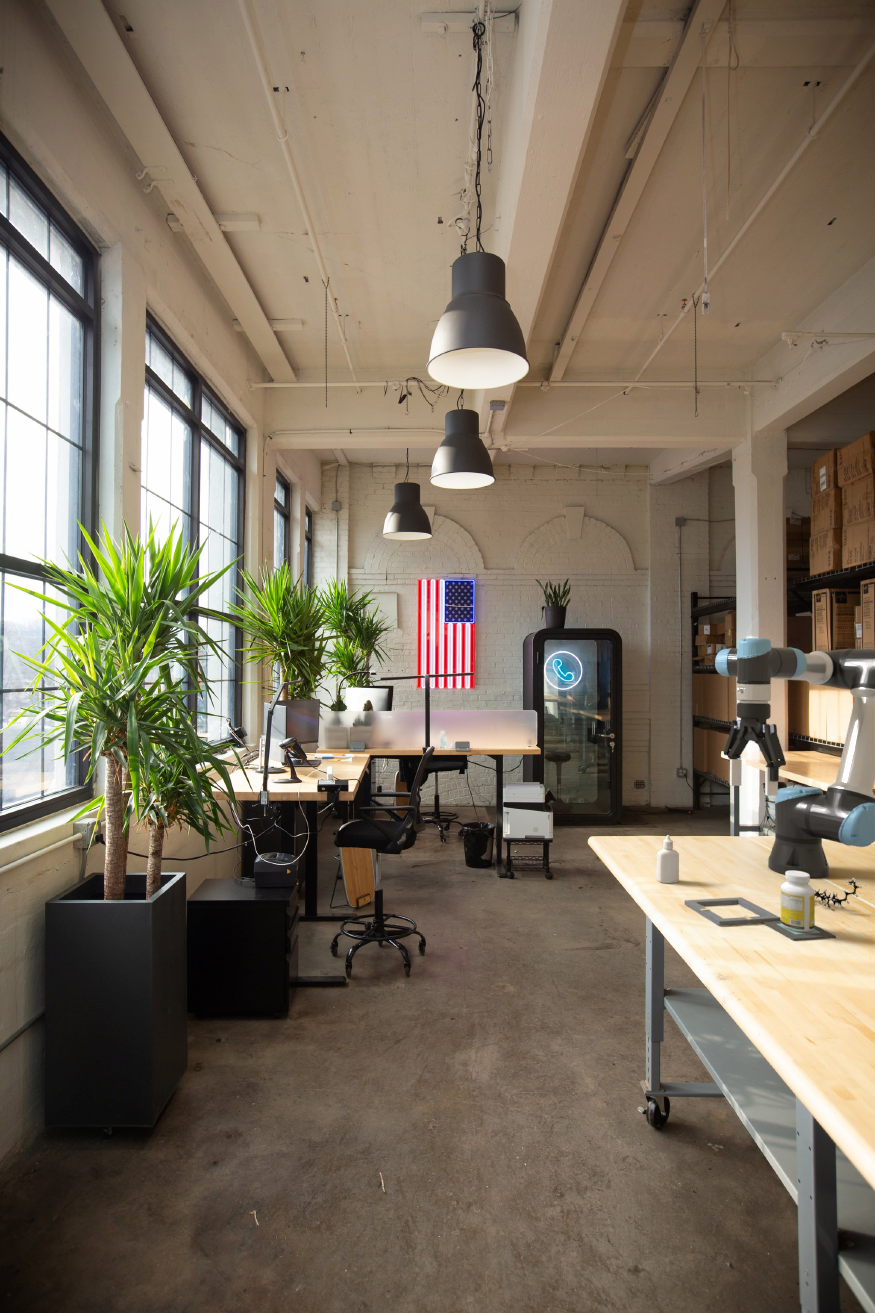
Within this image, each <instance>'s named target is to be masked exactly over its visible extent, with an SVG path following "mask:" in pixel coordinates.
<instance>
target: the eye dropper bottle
mask: <svg viewBox="0 0 875 1313" xmlns="http://www.w3.org/2000/svg"><path fill="white" fill-rule="evenodd" d="M662 845H663V846H662V847H663V848H662V849H660V850H658V851H657V853H656V881H657V882H658V883H659V882H660V883H661V884H674V883H675V884H676V883H678V882H679V881H680V853H679V852H678V851H677V850H675V849H674V841H673V840H671V835H668V834H667V835H666V837H665V839H663V840H662Z"/></svg>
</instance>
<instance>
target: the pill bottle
mask: <svg viewBox="0 0 875 1313" xmlns="http://www.w3.org/2000/svg"><path fill="white" fill-rule="evenodd" d="M784 876H785V879H786V881H785V882H783V883H782V884H781V886H780V918H781V924H782V926H783V927H785V928H787V929H789V930H792V931H797V932H810V931H812V930H814V927H815V926H816V925H815V922H816V921H815V918H816V917H815V912H816V911H815V901H816V900H815V891H814V887H813V886H811V884H810V881H811V878H810V875H809V874H808V873H805V872H801V871H786V872H785V874H784ZM809 884H810V885H809Z"/></svg>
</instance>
